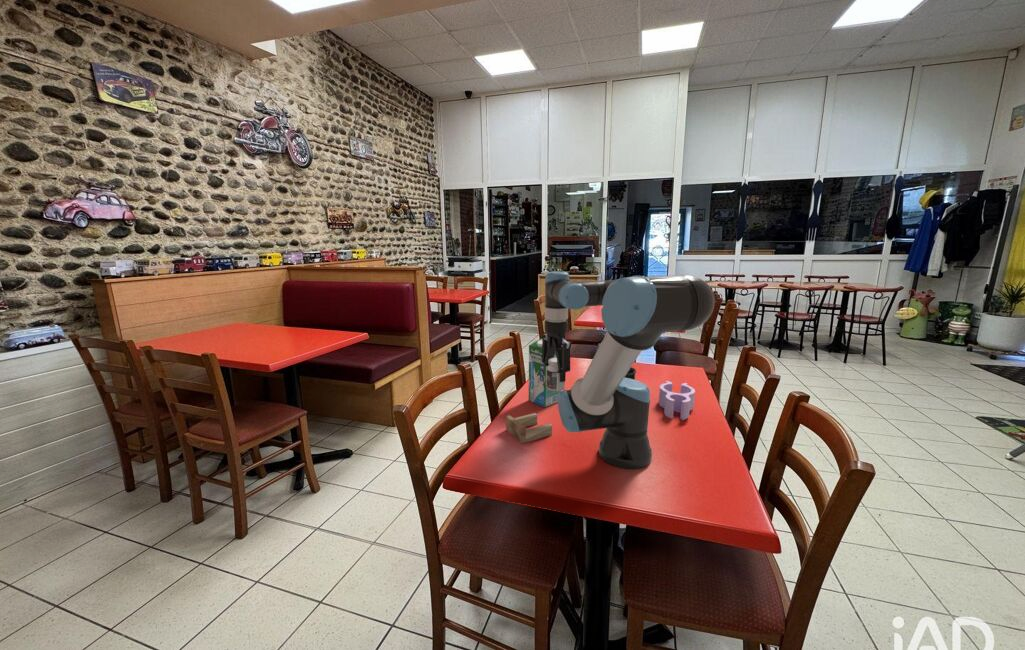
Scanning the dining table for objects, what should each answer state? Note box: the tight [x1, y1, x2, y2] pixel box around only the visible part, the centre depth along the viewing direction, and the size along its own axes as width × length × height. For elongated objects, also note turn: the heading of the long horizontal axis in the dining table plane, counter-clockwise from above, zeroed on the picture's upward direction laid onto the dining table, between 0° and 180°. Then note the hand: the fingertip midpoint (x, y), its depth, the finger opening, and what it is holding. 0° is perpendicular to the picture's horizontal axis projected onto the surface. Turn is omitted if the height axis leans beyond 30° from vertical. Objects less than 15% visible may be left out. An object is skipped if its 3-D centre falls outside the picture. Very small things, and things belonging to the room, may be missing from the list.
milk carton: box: [528, 337, 561, 408], centre depth 156 cm, size 9×9×25 cm
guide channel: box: [505, 412, 553, 444], centre depth 134 cm, size 10×12×5 cm
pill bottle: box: [546, 358, 559, 391], centre depth 135 cm, size 6×6×10 cm
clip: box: [658, 380, 696, 421], centre depth 152 cm, size 20×12×7 cm, turn 160°
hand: (554, 386), depth 136 cm, fingers closed on pill bottle, 6 cm apart
